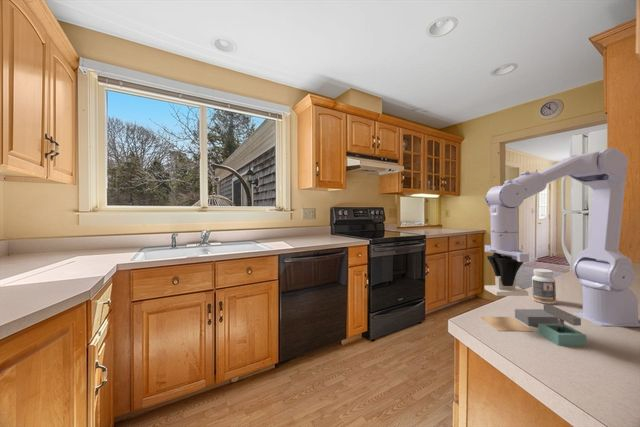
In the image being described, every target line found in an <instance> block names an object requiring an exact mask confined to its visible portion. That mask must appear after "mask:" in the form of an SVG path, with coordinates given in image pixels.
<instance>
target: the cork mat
mask: <svg viewBox="0 0 640 427" xmlns="http://www.w3.org/2000/svg"><path fill="white" fill-rule="evenodd" d="M480 319H482V321H485V322H486V323H487V324H488V325H489V326H491V327H492V328H493V329H495V330H496V331H497V332H534V330H532V329H531V328H529V326H526V324H525V325H524V324H523V322H522V323H521V321H519V320H518V319H516V318H515V317H512V316H480Z"/></svg>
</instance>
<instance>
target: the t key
mask: <svg viewBox="0 0 640 427" xmlns="http://www.w3.org/2000/svg"><path fill="white" fill-rule="evenodd" d="M543 310H544V311H545V312H547V313H549V314H551V315H554V316H556V317H558V332H559V333H564V324H565V322H566V323H568V324H570V325H571V326H576V327H577V326H582V319H581V318H582V317H580V316H577V315H575V314H572V313H569V312H567V311H565V310H563V309H560V308H558V307H557V306H554V305H553V304H545V303H543Z"/></svg>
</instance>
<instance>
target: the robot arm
mask: <svg viewBox="0 0 640 427" xmlns="http://www.w3.org/2000/svg"><path fill="white" fill-rule="evenodd" d="M628 160H629V158H628V157H627V155H625V154H624V153H623V152H622V151H621V150H620V149H618V148H615V147H608V148H606V149H603V150H597V151H591V152H586V153H582V154H578V155H577V154H574V155H571V156H569V157H566V158H563V159H562V160H560V161H558V162H556V163H554V164H552V165H551V166H549V167H547V168H545V169H543V170H541V171H539V172H538V171H529V170H527V171H523V172H521V173H519V176H518V177H516V178H514V179H508V180H505V181H503V182H504V183H503V184H502V185H498V186H492V187H490V188H489V189H488V191H487V192H486V195H485V196H484V198H483V199H484V202H485V204H486V205H487V207H488V212H489V214H490V218H489V219H490V221H489V222H490V244H484V253H490V254H492V255H487V259H488V261H489V263H490V265H491V268H492V269H493V272H494V277H495V276H501V281H502V285H503V286H513V283H514V280H515V281H516V276H517V273H518V271H519V269H520V268H521V266H522V265H524V263H529V262H530V253H527V252H524V251H523V250H521V249H519V220H518V219H519V217H518V214H519V213H518V208H519V207H520V206H521V205H522V204H523V202H524V200H525V199H528V198H531V197H533V196H534V195H537V194H538V193H541V192H543V191H545V189H546V187H547V184H549V183H551V182H554V181H556V180H558V179H561V178H564V177H565V176H568V177H569V178H571V179H573V180H575V181H577V182H579V183H581V184H583V185H585V186H588V187H589V188H591V189H592V191H593V194H592V205H591V212H590V221H589V222H590V224H589V225H590V226H589V234H588V244H587V247H586V248H585V249H583V250H581V251H579V252H578V253H577V258H576V260H575V262H574V264H573V266H572V272H573V275H574V276H575V277H576V278H577V279H578V281H579V282H578V283H580V284H581V285H582V288H581V289H582V290H581V291H582V295H581V296H582V311H573V312H572V313H573V314H572V315H574V316H576V317H579V318H582V319H585V321H586V320H587V321H588V322H591V323H593V324H596V325H598V326H599V327H627V328H628V327H629V328H630V327H631V328H632V327H633V328H634V327H635V328H636V327H637V328H638V327H639V328H640V322H639V300H638V297H637V295H636V294H635V292H634V291H633V290H632V289H630V287H631V286H632V285H633V284H634V283H635V273H634V270H633V262H632V261H633V260H632V259H631V258H629V257H628V256H626V255H624V254H623V252H621V251H620V250H619V249H620V240H621V230H622V222H623V221H622V220H623V209H624V200H625V189H626V180H627V174H628V173H627V171H628V162H629V161H628Z"/></svg>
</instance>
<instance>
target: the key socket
mask: <svg viewBox="0 0 640 427" xmlns="http://www.w3.org/2000/svg"><path fill="white" fill-rule="evenodd" d="M537 327H538V329H537V330H538V331H536V333H537V334H539V335H541V337H544V338H546V339H547V340H548V341H550V342H551V343H553V344H554V345H557V346H558V347H589V346H588V345H587V334H584V333H583V332H581V331H579V330H576V328H575V329H574V328H573V327H571V326H570V325H567V324H565V323H564V333H559V332H558V324H544V323H538V326H537Z"/></svg>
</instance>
